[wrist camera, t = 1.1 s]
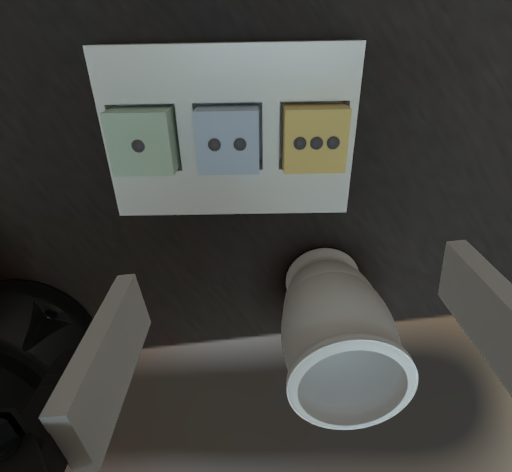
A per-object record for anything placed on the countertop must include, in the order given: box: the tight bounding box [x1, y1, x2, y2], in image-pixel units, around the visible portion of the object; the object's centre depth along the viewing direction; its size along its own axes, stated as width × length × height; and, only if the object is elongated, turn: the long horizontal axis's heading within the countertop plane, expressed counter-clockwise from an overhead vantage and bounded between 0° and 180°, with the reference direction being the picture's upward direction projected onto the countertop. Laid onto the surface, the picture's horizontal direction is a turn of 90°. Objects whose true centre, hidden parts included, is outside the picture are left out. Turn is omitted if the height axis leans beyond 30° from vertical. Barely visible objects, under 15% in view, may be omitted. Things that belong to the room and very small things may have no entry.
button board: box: [83, 40, 366, 216], centre depth 32 cm, size 21×14×4 cm, turn 91°
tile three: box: [282, 103, 352, 174], centre depth 30 cm, size 5×5×3 cm
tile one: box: [99, 105, 181, 177], centre depth 30 cm, size 5×5×3 cm
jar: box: [281, 248, 418, 430], centre depth 35 cm, size 11×10×15 cm
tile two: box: [192, 104, 259, 175], centre depth 30 cm, size 5×5×3 cm
